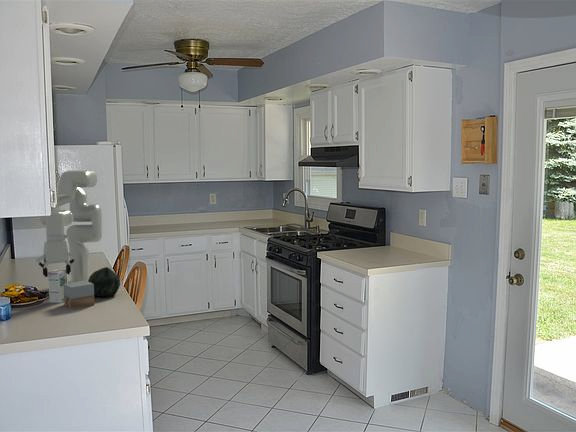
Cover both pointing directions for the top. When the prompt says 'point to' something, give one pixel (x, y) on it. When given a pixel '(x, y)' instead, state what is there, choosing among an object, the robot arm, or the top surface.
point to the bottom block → (79, 302)
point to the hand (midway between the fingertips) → (57, 275)
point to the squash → (105, 282)
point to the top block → (78, 289)
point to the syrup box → (57, 285)
